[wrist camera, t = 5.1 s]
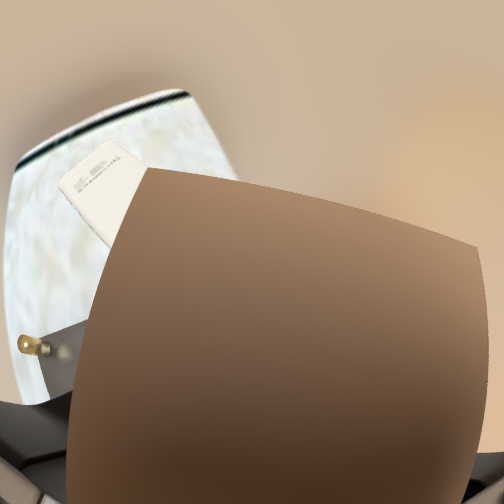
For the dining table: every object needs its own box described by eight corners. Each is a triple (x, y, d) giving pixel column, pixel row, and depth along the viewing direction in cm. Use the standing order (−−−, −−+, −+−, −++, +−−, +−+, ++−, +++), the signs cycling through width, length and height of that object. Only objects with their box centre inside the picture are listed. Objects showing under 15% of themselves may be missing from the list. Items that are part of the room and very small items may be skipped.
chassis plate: (183, 425, 16) (174, 439, 13) (79, 451, 14) (56, 462, 10) (132, 306, 20) (115, 292, 16) (40, 342, 17) (13, 334, 13)
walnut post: (273, 425, 14) (442, 543, 1) (189, 412, 13) (72, 545, 1) (285, 348, 16) (477, 247, 3) (204, 333, 16) (147, 167, 3)
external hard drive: (121, 261, 22) (61, 191, 24) (185, 199, 25) (115, 145, 27) (115, 253, 20) (55, 182, 22) (184, 189, 23) (111, 135, 25)
